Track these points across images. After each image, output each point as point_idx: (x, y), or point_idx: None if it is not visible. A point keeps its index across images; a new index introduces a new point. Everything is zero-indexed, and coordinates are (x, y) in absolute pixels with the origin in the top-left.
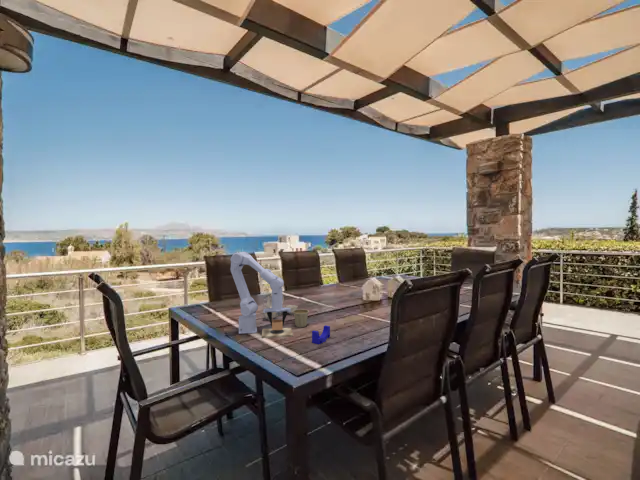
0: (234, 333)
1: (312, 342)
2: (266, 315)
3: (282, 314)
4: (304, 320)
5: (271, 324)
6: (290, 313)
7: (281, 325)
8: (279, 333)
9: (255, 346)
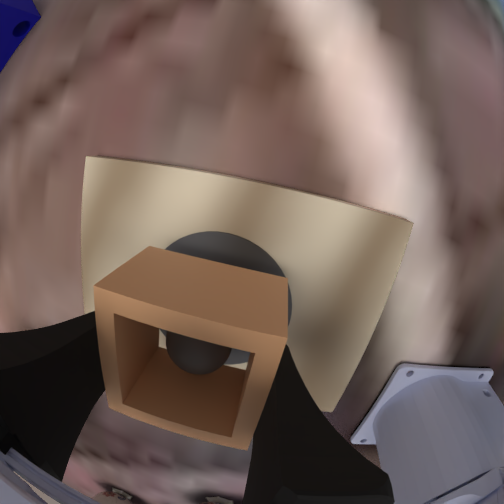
0: (498, 380)
1: (38, 14)
2: None
3: (57, 436)
4: None
5: (282, 354)
6: (122, 496)
7: (136, 270)
8: (202, 231)
9: (473, 41)
